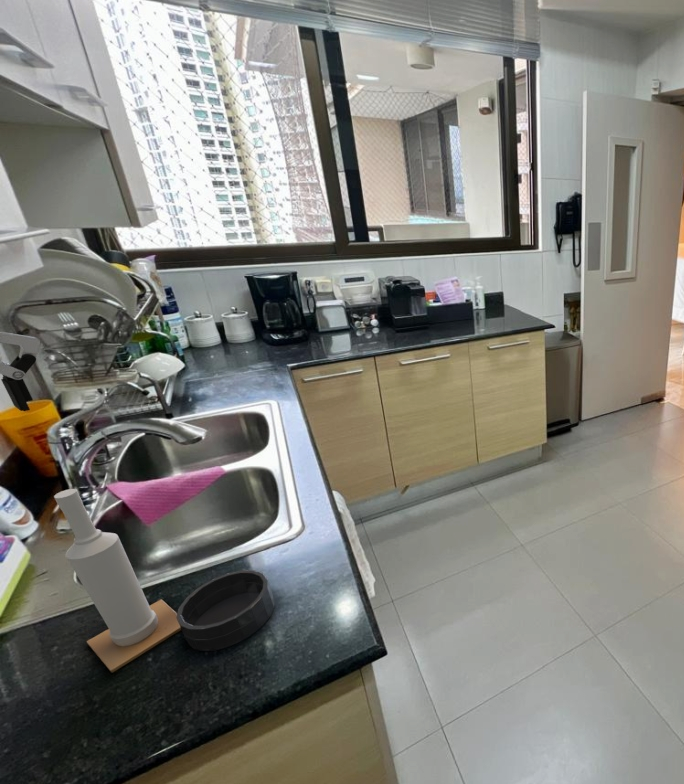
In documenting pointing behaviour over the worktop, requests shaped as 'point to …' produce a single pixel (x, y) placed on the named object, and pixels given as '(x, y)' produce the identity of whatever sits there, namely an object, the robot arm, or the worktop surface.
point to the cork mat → (122, 655)
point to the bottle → (106, 575)
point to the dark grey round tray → (226, 610)
